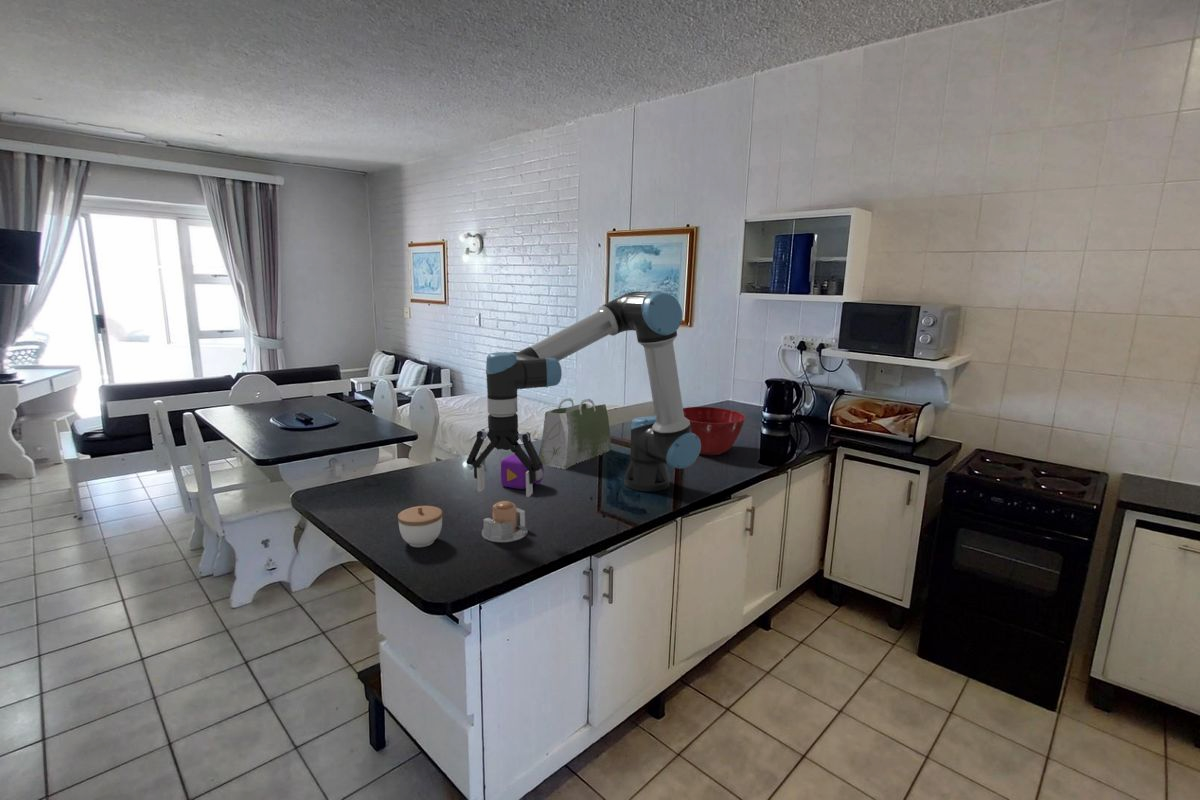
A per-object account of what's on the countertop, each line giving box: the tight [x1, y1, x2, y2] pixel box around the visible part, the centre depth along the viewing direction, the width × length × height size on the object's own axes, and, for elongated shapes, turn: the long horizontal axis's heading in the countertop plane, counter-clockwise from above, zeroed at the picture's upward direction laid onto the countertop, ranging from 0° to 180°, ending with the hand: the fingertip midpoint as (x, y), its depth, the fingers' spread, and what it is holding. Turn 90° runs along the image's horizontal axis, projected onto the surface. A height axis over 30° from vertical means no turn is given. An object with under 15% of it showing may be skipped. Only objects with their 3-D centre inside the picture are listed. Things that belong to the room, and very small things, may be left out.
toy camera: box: [500, 453, 545, 490], centre depth 185 cm, size 11×14×10 cm
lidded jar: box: [397, 505, 443, 548], centre depth 143 cm, size 11×11×9 cm
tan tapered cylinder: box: [492, 500, 517, 534], centre depth 149 cm, size 6×6×8 cm
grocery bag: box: [538, 398, 612, 470], centre depth 217 cm, size 32×14×23 cm, turn 147°
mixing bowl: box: [683, 406, 746, 456], centre depth 229 cm, size 28×28×16 cm
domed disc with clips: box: [481, 507, 528, 544], centre depth 149 cm, size 12×12×5 cm
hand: (505, 492), depth 148 cm, fingers open, 13 cm apart
